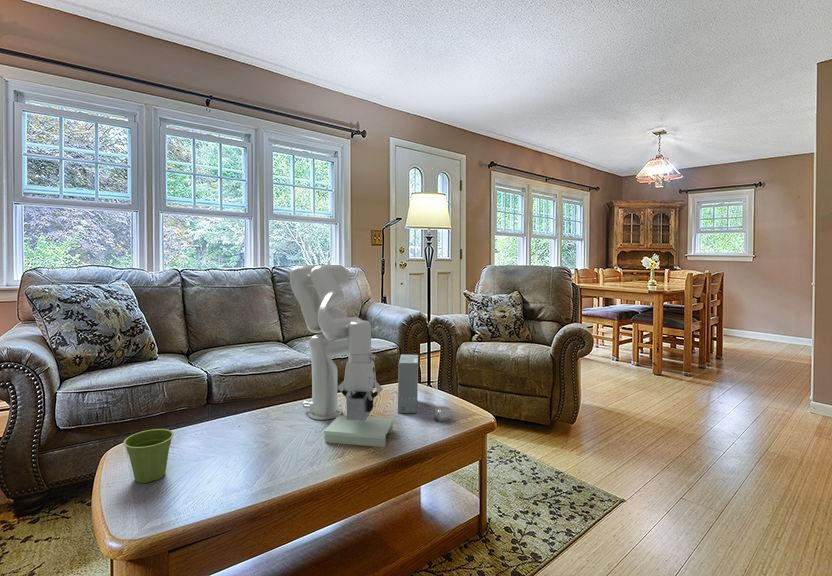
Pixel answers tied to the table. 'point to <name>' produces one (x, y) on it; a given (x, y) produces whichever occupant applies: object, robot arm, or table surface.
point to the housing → (357, 406)
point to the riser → (359, 431)
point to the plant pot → (149, 453)
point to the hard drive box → (408, 384)
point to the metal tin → (442, 414)
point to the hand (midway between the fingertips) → (360, 409)
